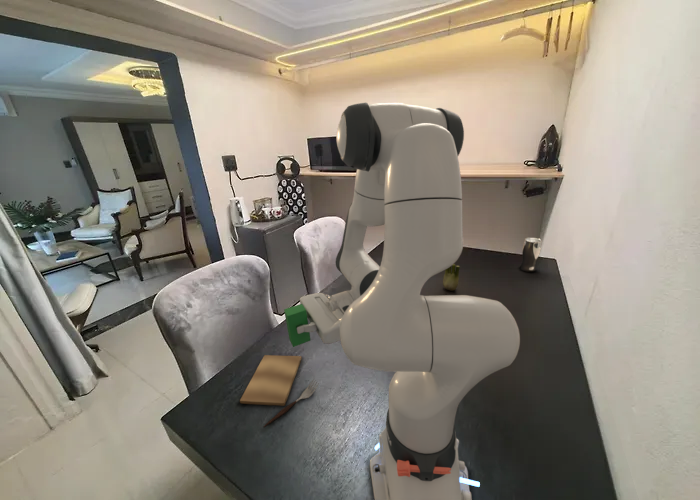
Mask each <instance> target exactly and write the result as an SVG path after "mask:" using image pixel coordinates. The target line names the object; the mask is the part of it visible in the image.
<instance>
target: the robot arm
mask: <svg viewBox="0 0 700 500" xmlns="http://www.w3.org/2000/svg"><path fill="white" fill-rule="evenodd" d="M336 129H337V130H336V146H337V150H338V153H339V156H340V159H341V161H342V162H343V163H344V164H345V165H346V166H347V167H349V168H351V169H355V170H356V173H355V180H354V189H353V198H352V202H351V203H350V205H349V206H348V210H347V213H346V218H345V223H344V224H345V225H344V229H343V235H342V242H341V245H340V248H339V250H338V252H337V255H336V257H335V267H336V269H337V270H338V271H339V273H341V274H342V276H344V278H345V280H347V282H348V283H349V284H350V286H351V288H350V290H344V291H341V292H338V293H334V294H332V295H329V294H326V293H323V292H315V293H310V294H307V295H303V296H301V297H300V298H299V304H302V305H303V306H304V308H305V309H306V313H307V319H308V322H309V323H308V324H307V325H303V324H299V325H297V326H296V330H297V332H298V334H300V333H303V332H309V333H314V332H316V333H317V335H318V337H319V338H320V340H321V341H322V343H323V344H325V345H331V344H335V343H337V342H339V341H340V345H341V348H342V351H343V352H344V355H345V356H346V357H347V359H348V360H349V361H350V363H352V365H354V366H358V367H363V368H365V369H369V370H370V369H371V370H374V371H379V372H394V374H393V376H392V378H391V380H390V382H389V385H388V409H387V413H386V417H385V428H384V429H383V430H382V431H381V432H380V434H379V436H378V443H377V444H376V445H375V446H374V450H375V451H378V452H377V453H375V455H373V456H372V457H371V458H370V460H369V471H370V478H371V484H372V491H373V498H374V500H473V498H472V492H471V491H470V486H474V487H478V488H479V487H480V485H481V484H480V482H479V481H476V480H473V479H469V471H468V468H467V466H466V463H465V461H463V460H460V459H459V444H460V440H459V439H458V438H457V433H456V425H455V420H456V415H457V411H458V408H459V406H460V403H461V401H463V399H464V397H466V395H467V394H468V393H469V392H470V391H471V390H472V389H473V388H474V387H475V386H476V385H477V384H478V383H480V382H481V381H482V380H484V379H486V378H487V377H488V376H490V375H493V374H494V373H496V372H498V371H501V370H502V369H505V368H507V367H509V366H511V365H512V363H513V362H514V361H515V359H516V358H517V356H518V353H519V350H520V345H521V335H520V329H519V326H518V323H517V321H516V319H515V317H514V316H513V313H511V311H510V310H509V309H508V308H507V307H506V306H505V305H504V304H503V303H502V302H501V301H498V300H496V299H491V298H486V297H481V296H474V295H467V294H447V295H445V294H444V295H423V294H421V292H422V290H423V287H424V286H425V284H426V283H427V282H428V280H429V279H430V278H431V277H434V276H435V275H438V274H440V273H441V272H445V269H447V268H449V267H450V266H451V267H452V265H453V264H456V262H458V260H459V259H460V257H461V255H462V253H463V249H464V233H463V231H464V230H463V229H464V228H463V226H464V225H463V223H464V222H463V186H462V175H461V169H460V168H461V167H460V160H459V156H460V155H461V151H462V150H463V146H464V140H465V129H464V125H463V121H462V118H461V117H460V115H458V114H457V113H456V112H453V111H451V110H449V109H447V108H442V107H437V108H432V107H427V106H421V105H415V104H414V105H413V104H406V103H405V102H386V103H385V102H383V103H381V102H380V103H372V104H370V103H368V102H360V103H359V102H358V103H354V104H350V105H348V106H347V107H346V108H345V109H344V111H342V113H341V116H340V120H339V122H338V125H337V128H336ZM380 226H384V237H383V238H384V239H383V251H382V258H381V262H380V265H379V264H378V263H377V261H375V260H374V259H373V258H372V257H371V256H370V255H369V254H368V252H367V251H366V250H365V249H366V248H365V247H364V242H365V237H366V232H367V229H368V227H370V228H371V227H380ZM376 470H377V471H376Z"/></svg>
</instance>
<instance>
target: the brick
mask: <svg viewBox="0 0 700 500" xmlns="http://www.w3.org/2000/svg"><path fill="white" fill-rule="evenodd" d="M283 312H284V317H285V318H284V319H285V323H286V328H287V334H288V339H289V341H290V344H291V346H292V348H294V347H297V346H300V345H303V344H305V343H308V342H310V341H312V339H311V332H303V333H300V334H298V332H297V330H296V326H297V325H299V324H303V325H307V324H309V319H308V318H307V313H306V309H305V308H304V306H303V305H302V304H300V303H299V304H297V305H293V306H290V307H287V308H284V309H283Z"/></svg>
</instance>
